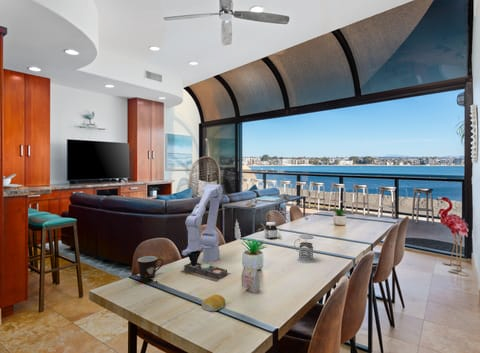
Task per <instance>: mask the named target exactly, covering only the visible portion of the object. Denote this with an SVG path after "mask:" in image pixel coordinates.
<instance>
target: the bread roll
mask: <svg viewBox="0 0 480 353" xmlns="http://www.w3.org/2000/svg"><path fill="white" fill-rule="evenodd" d="M226 304H227V303H226V299H225V298H224V297H223V295H220V294H213V295H211V296H209V297H208V296H207V297H206V298H204V299H203V301H202V302H201V307H202V308H203V309H204V310H205V311H207V312H216V311H217V310H218V311H219V309H220V310H221V309H223V308H225V306H226Z"/></svg>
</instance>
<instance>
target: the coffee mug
mask: <svg viewBox="0 0 480 353" xmlns="http://www.w3.org/2000/svg"><path fill="white" fill-rule="evenodd" d="M158 261H161V264H160V266H159V267H157V263H158ZM163 264H164V259H162V258H157V257H156V256H152V255H151V256H150V255H147V256H142V257H140V258H139V257H138V259H137V265H138V272H139V278H140V282H141V283H151V282H154V281H155V279H154V278H155V276H156V272H158V270H160V269H161V267H163Z"/></svg>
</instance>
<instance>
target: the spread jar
mask: <svg viewBox="0 0 480 353" xmlns="http://www.w3.org/2000/svg"><path fill="white" fill-rule="evenodd" d="M263 230H264V237H265V238H266V239H267V240H276V238H277V237H278V238H279V239H280V238H281V239H282V235H281V232H280V229H278V228H277V226H276V222H274V221H267V222H266V224H265V226H264V229H263Z"/></svg>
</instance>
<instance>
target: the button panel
mask: <svg viewBox="0 0 480 353" xmlns="http://www.w3.org/2000/svg"><path fill="white" fill-rule="evenodd" d="M201 264H202V263H200V262H197V265H198V266H196V267H191V266H190V265H191V262H189V263H187V264H185V265H183V269H182V270H180V271H179V272H180V273H182V274H187V275H190V276H194V277H197V278H201V279H205V280H209V281H212V282H214V283H215V282H218V281H220V280H222V279H224V278H226V277H228V276H229V275H231V274H232V273H230V272H228V269H226V268H225V269H224V268H221V267H216V266H213V265H210V268H209V269H207V270H203V269H201ZM214 270H221V271H222V272H220V273H215V272H213V271H214Z"/></svg>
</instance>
